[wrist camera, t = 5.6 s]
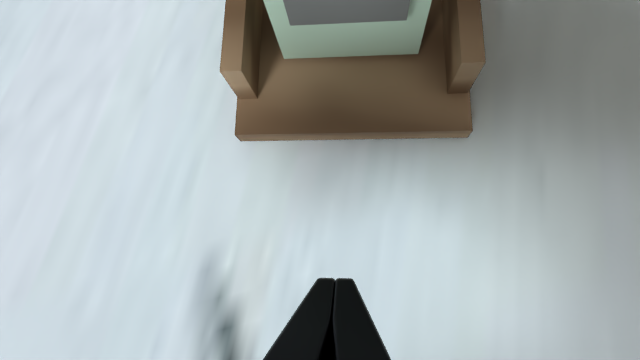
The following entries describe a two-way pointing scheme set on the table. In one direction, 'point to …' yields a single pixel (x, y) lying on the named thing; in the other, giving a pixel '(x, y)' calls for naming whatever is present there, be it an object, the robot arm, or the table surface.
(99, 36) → the table surface
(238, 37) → the brown open tray
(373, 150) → the table surface
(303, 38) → the pale green block
